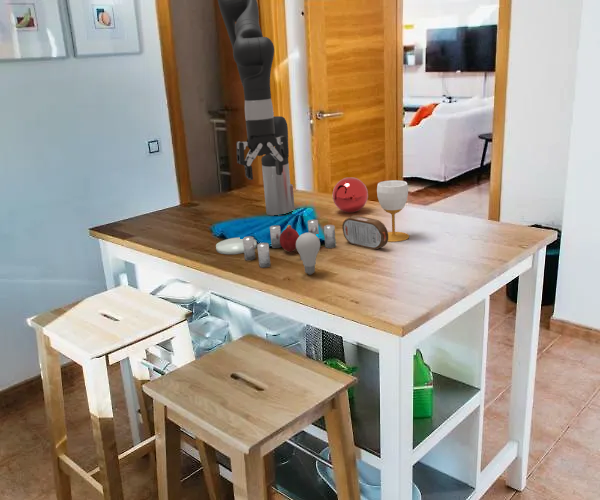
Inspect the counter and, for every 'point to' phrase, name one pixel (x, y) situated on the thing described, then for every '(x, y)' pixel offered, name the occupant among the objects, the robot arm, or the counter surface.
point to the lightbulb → (308, 250)
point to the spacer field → (275, 242)
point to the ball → (350, 195)
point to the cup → (393, 203)
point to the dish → (232, 246)
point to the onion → (289, 239)
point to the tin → (365, 232)
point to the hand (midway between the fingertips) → (264, 177)
